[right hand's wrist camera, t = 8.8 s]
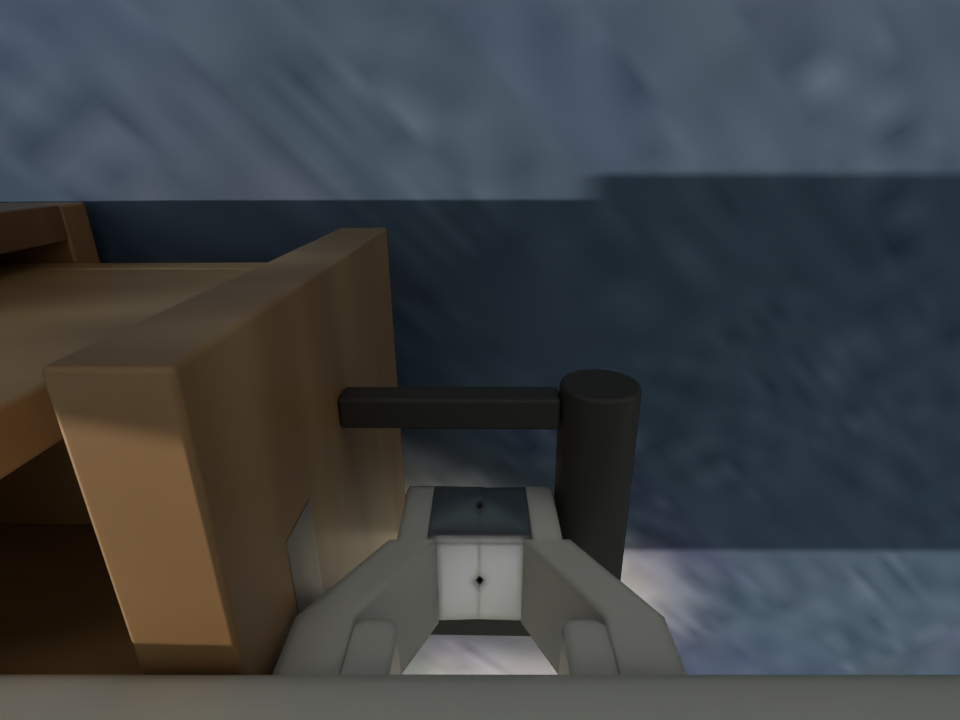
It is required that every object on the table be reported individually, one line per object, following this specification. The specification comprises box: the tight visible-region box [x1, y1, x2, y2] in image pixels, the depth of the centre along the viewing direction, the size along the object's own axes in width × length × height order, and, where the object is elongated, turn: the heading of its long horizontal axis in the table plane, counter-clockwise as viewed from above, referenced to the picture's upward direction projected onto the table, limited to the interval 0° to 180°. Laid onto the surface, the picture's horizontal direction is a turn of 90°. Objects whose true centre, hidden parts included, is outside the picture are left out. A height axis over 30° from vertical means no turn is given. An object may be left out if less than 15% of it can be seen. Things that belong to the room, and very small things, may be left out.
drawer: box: [0, 227, 641, 675], centre depth 11 cm, size 22×10×10 cm, turn 91°
